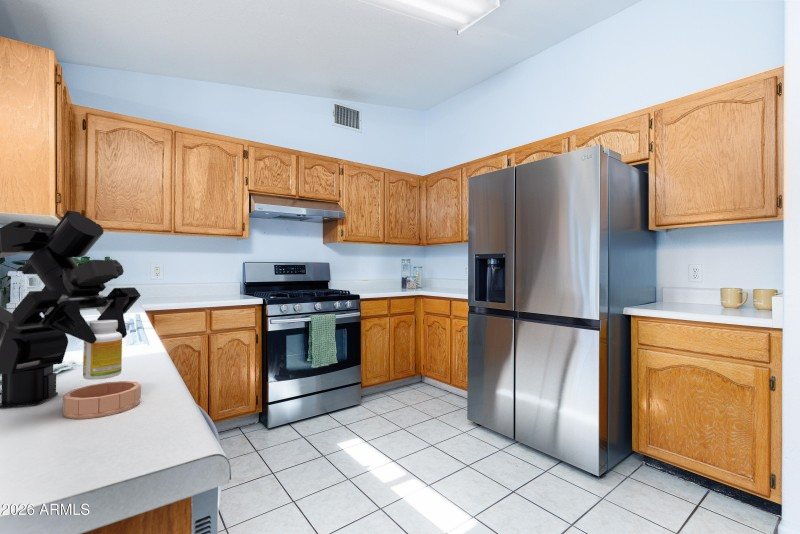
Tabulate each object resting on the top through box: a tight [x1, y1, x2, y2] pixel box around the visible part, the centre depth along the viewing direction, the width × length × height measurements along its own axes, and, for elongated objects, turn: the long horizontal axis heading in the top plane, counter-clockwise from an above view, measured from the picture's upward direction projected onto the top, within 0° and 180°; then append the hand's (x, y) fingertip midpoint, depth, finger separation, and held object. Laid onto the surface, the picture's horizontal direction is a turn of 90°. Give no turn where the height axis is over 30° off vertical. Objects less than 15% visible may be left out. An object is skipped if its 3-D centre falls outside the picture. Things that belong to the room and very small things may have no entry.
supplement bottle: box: [82, 320, 123, 381], centre depth 68 cm, size 5×5×10 cm
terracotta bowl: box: [62, 380, 142, 420], centre depth 68 cm, size 11×11×3 cm
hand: (110, 339), depth 68 cm, fingers closed on supplement bottle, 5 cm apart
